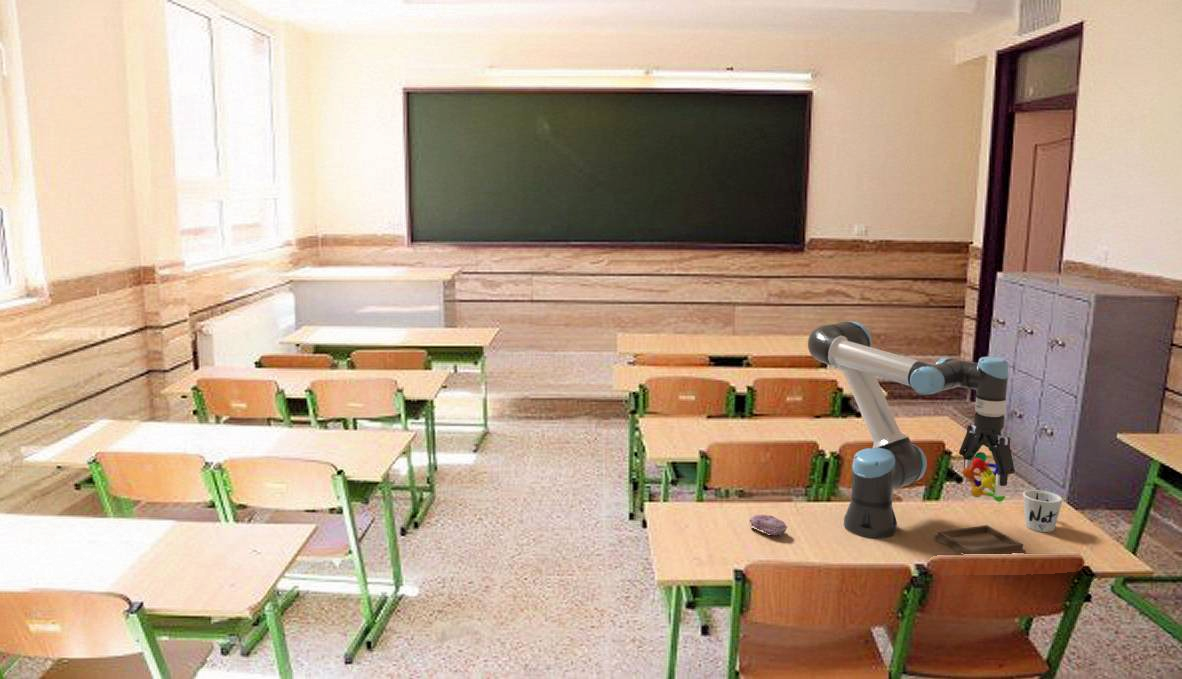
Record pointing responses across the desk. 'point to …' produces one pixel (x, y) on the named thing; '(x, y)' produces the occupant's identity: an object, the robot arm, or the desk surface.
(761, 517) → the fossil
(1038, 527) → the mug
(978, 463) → the molecular model
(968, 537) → the base
